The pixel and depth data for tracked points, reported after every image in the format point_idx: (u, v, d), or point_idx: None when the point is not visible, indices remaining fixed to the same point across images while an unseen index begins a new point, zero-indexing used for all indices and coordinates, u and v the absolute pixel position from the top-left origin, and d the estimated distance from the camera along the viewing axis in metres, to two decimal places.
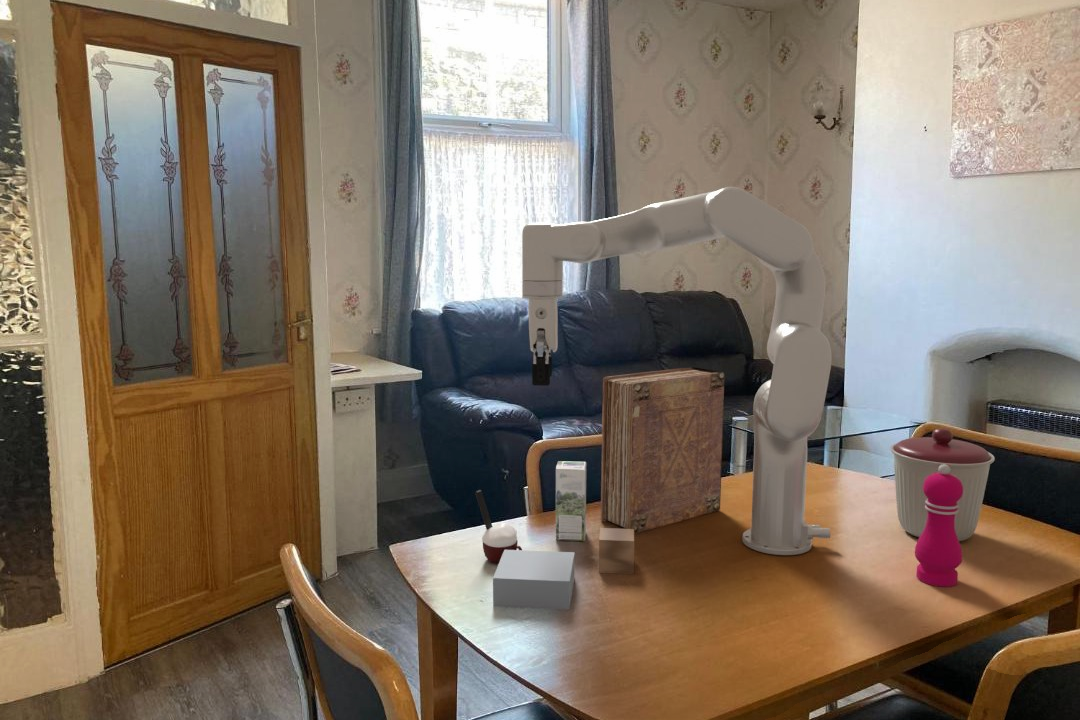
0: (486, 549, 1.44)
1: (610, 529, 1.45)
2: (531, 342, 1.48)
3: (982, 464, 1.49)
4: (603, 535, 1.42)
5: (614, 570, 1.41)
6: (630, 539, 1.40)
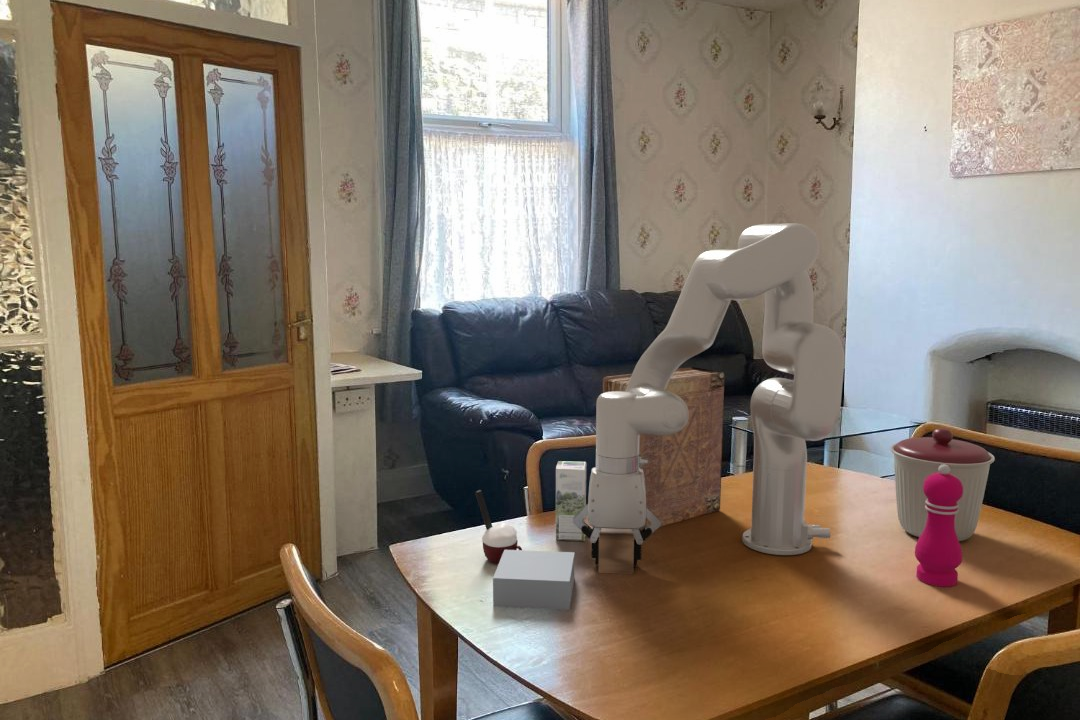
0: (486, 549, 1.44)
1: (610, 529, 1.45)
2: (644, 519, 1.40)
3: (982, 464, 1.49)
4: (603, 535, 1.42)
5: (614, 570, 1.41)
6: (630, 539, 1.40)
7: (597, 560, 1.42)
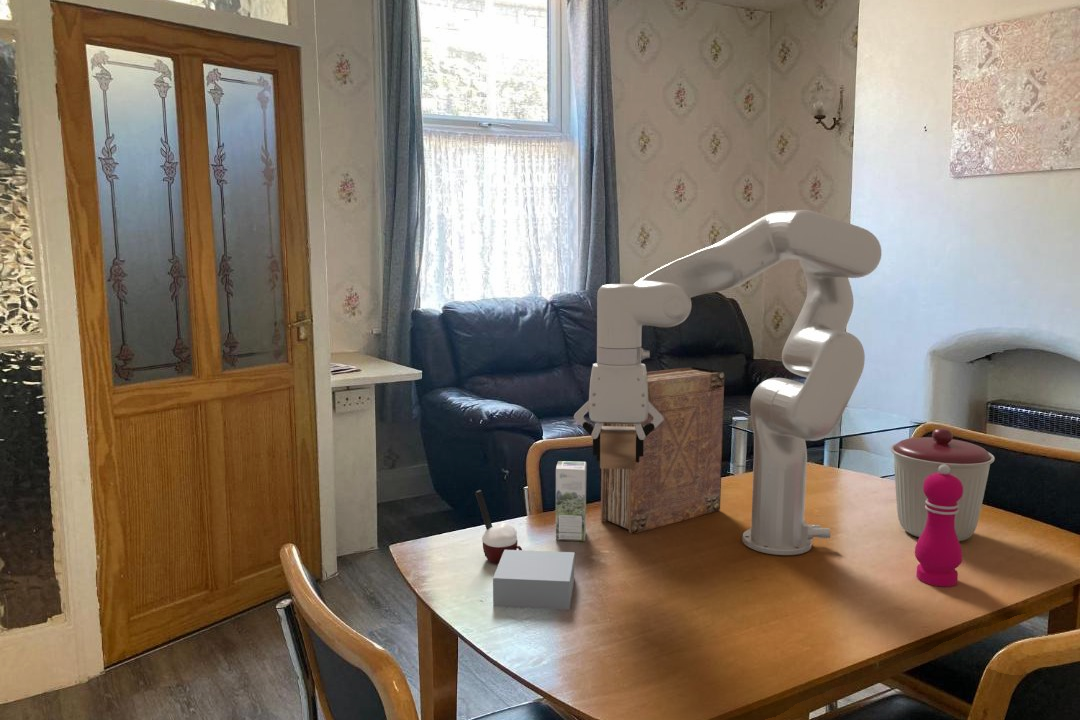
0: (486, 549, 1.44)
1: (611, 427, 1.42)
2: (647, 412, 1.37)
3: (982, 464, 1.49)
4: (604, 431, 1.39)
5: (616, 465, 1.38)
6: (632, 433, 1.38)
7: (599, 456, 1.40)
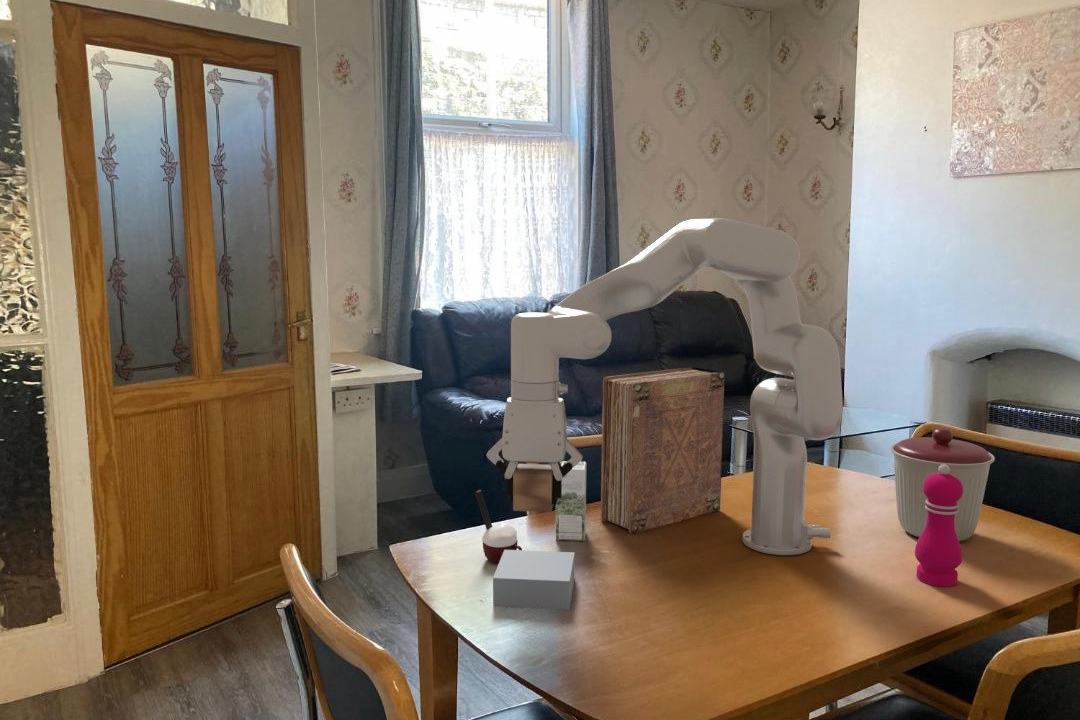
0: (486, 549, 1.44)
1: (529, 465, 1.33)
2: (563, 451, 1.27)
3: (982, 464, 1.49)
4: (519, 470, 1.29)
5: (530, 507, 1.28)
6: (547, 473, 1.28)
7: (512, 498, 1.30)
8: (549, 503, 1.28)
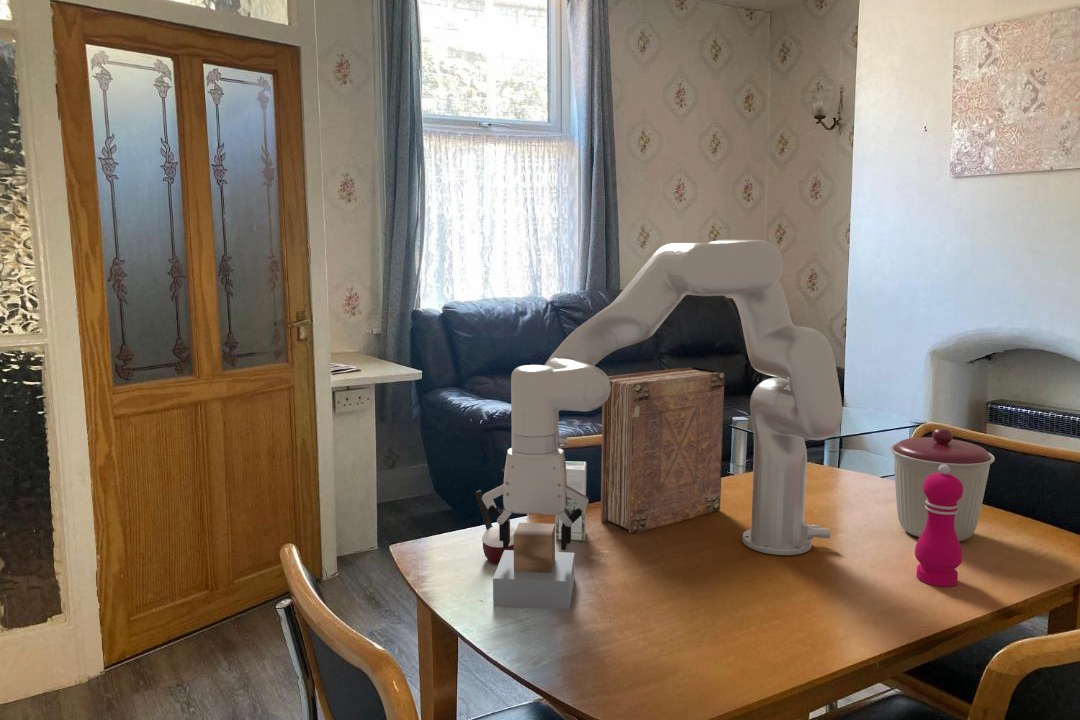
0: (486, 549, 1.44)
1: (529, 524, 1.34)
2: (564, 503, 1.29)
3: (982, 464, 1.49)
4: (519, 531, 1.31)
5: (530, 568, 1.29)
6: (547, 534, 1.29)
7: (505, 543, 1.31)
8: (549, 564, 1.29)
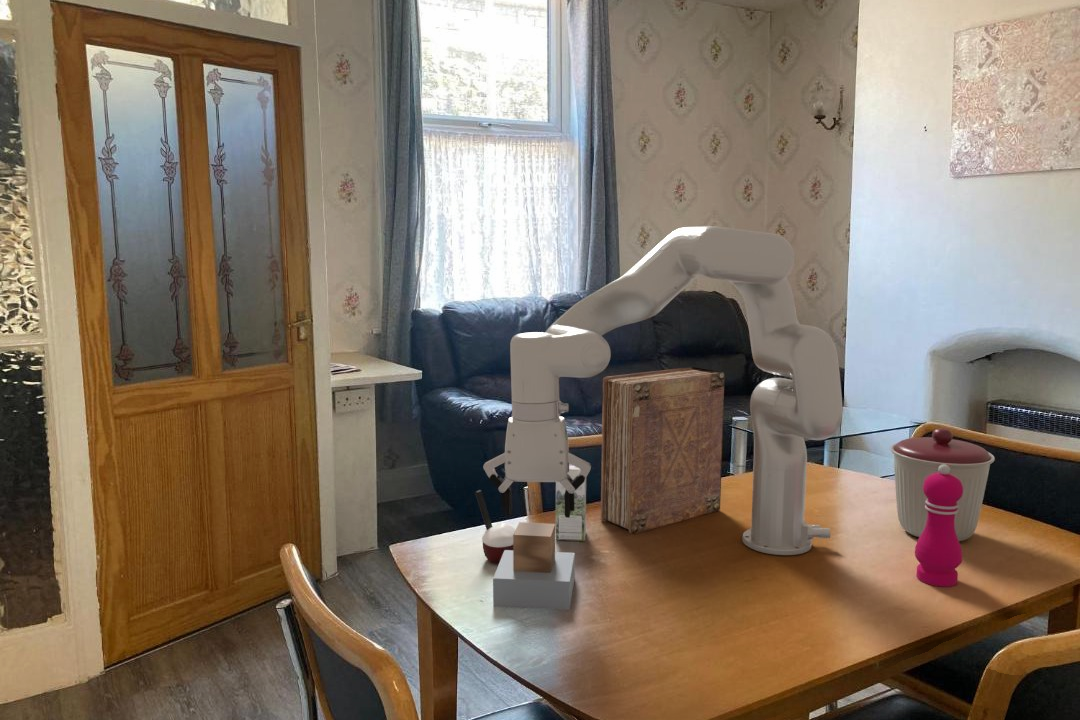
0: (486, 549, 1.44)
1: (529, 524, 1.34)
2: (566, 470, 1.28)
3: (982, 464, 1.49)
4: (519, 530, 1.31)
5: (530, 568, 1.30)
6: (547, 534, 1.29)
7: (507, 511, 1.30)
8: (549, 564, 1.29)
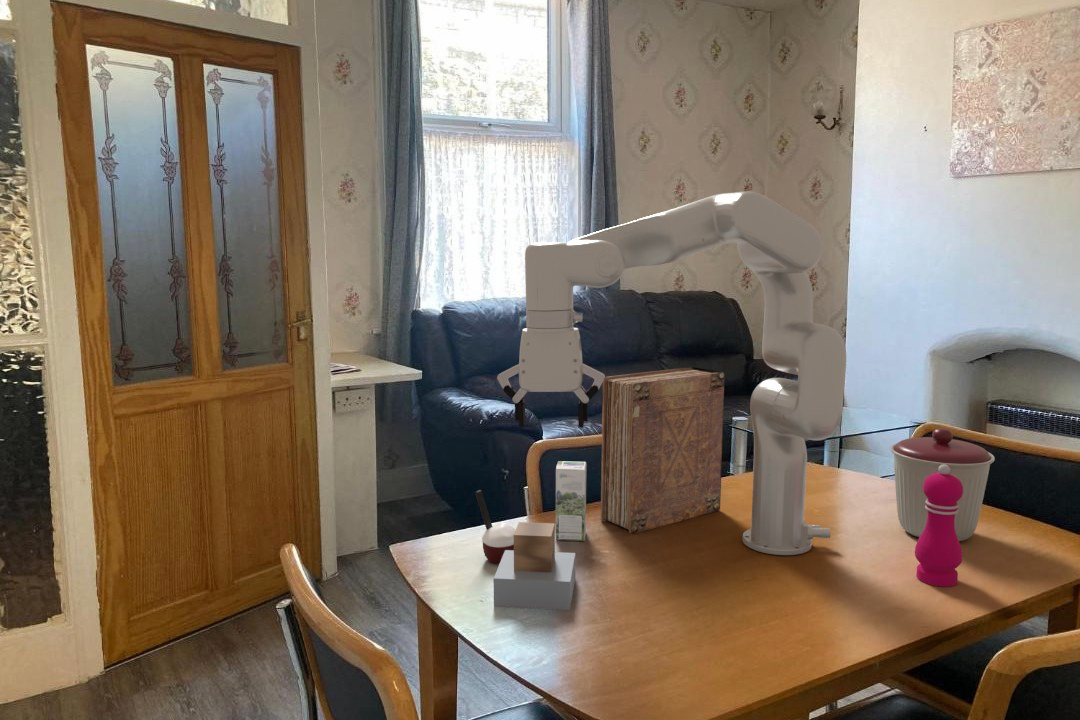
0: (486, 549, 1.44)
1: (529, 523, 1.34)
2: (580, 379, 1.29)
3: (982, 464, 1.49)
4: (519, 530, 1.31)
5: (530, 568, 1.30)
6: (547, 534, 1.29)
7: (521, 422, 1.31)
8: (549, 564, 1.29)
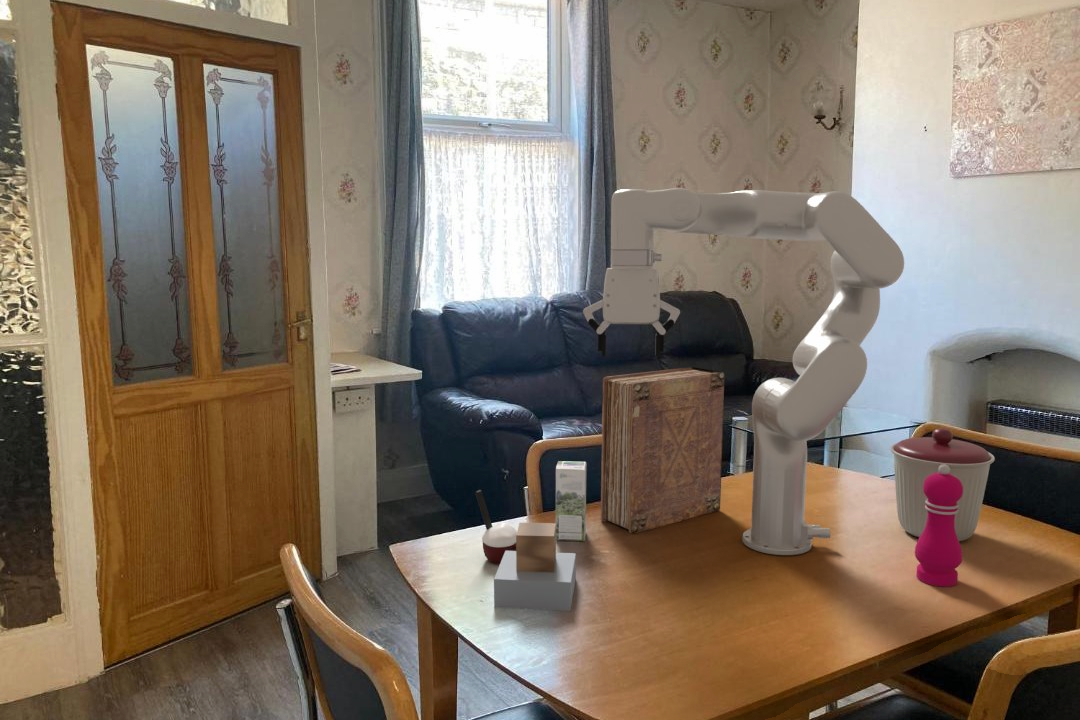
0: (486, 549, 1.44)
1: (530, 524, 1.34)
2: (658, 313, 1.44)
3: (982, 464, 1.49)
4: (521, 531, 1.31)
5: (533, 568, 1.30)
6: (550, 534, 1.29)
7: (603, 351, 1.46)
8: (552, 563, 1.29)
